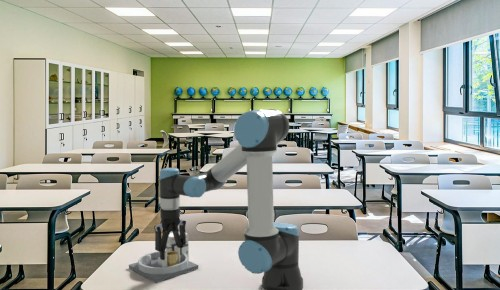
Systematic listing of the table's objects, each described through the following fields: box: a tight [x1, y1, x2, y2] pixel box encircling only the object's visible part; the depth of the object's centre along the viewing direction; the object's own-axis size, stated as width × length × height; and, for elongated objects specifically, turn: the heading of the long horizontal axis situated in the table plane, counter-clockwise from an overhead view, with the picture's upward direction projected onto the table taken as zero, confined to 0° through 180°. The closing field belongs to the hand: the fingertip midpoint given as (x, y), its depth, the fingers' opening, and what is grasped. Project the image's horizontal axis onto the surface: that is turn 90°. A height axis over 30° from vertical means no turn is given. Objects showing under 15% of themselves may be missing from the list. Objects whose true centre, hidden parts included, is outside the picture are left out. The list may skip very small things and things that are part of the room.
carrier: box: [128, 250, 199, 284], centre depth 187 cm, size 20×20×6 cm
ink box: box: [165, 231, 190, 261], centre depth 195 cm, size 8×5×12 cm, turn 123°
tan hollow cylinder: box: [167, 251, 178, 267], centre depth 183 cm, size 5×5×5 cm
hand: (171, 265), depth 183 cm, fingers closed on tan hollow cylinder, 5 cm apart
